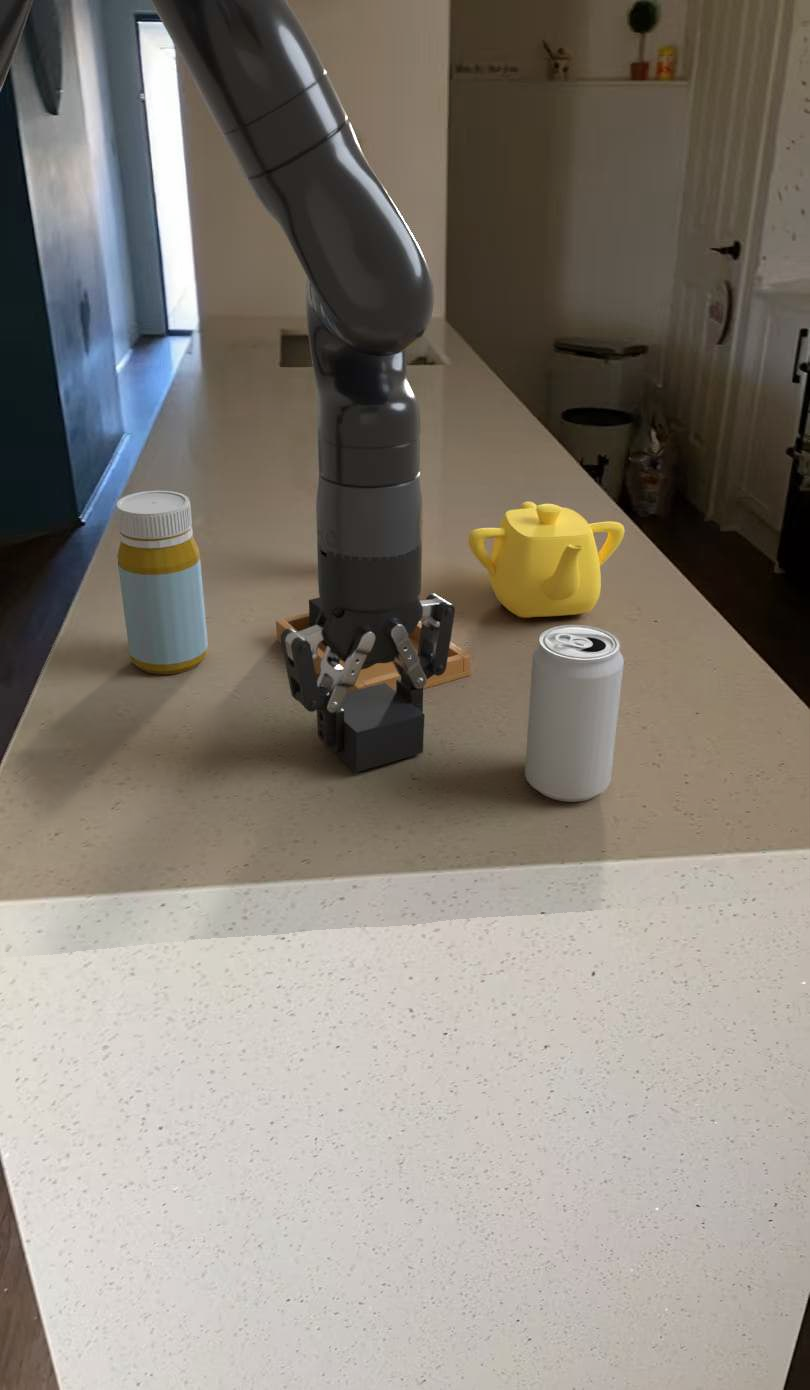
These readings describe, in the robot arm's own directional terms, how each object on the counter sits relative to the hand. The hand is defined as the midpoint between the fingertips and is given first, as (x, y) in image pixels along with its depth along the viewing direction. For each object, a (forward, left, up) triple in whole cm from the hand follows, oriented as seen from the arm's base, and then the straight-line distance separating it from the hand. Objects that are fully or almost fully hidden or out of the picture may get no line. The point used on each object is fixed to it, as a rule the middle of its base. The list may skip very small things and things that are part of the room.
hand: (370, 735), depth 86 cm
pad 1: (+8, +17, -1) cm, 19 cm away
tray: (+8, +14, -1) cm, 16 cm away
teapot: (+29, +15, -1) cm, 33 cm away
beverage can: (+10, -12, -1) cm, 16 cm away
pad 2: (0, 0, -1) cm, 1 cm away
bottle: (-8, +23, -1) cm, 24 cm away
